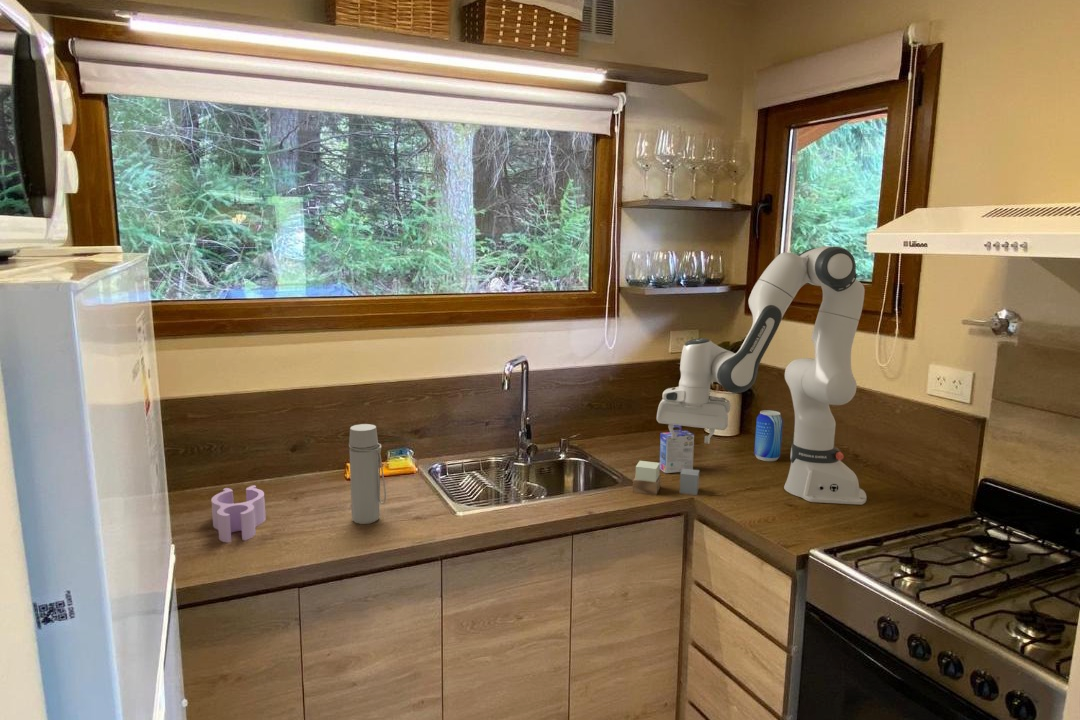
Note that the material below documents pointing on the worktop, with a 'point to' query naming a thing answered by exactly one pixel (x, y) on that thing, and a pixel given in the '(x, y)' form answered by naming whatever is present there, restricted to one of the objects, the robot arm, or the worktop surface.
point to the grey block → (689, 481)
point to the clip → (238, 513)
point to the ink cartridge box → (676, 451)
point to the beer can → (768, 435)
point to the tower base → (646, 486)
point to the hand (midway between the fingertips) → (690, 440)
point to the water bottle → (365, 473)
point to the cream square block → (647, 471)
